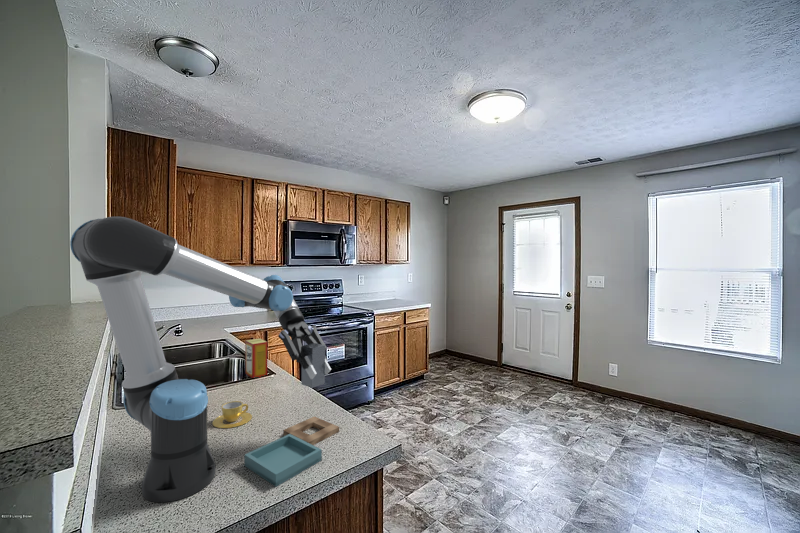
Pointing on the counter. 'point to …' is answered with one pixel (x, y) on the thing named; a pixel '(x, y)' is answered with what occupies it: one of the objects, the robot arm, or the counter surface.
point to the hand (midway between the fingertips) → (321, 374)
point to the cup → (232, 415)
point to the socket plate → (325, 432)
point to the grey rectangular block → (314, 365)
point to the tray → (282, 459)
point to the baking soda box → (255, 357)
